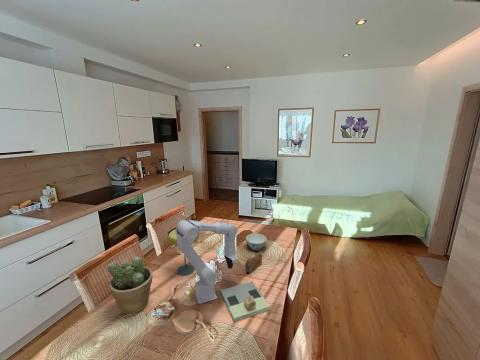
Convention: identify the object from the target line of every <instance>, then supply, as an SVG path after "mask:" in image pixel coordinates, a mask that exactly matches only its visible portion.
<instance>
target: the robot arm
mask: <svg viewBox="0 0 480 360" xmlns="http://www.w3.org/2000/svg"><path fill="white" fill-rule="evenodd" d="M175 228H176V230H175V232H176V235H177V245H178V246H177V248H178V250H180V252H181V253H182V254H183V256H184V255H185V257H186V259H187V260H188V262H190V265H193V266H194V267H195V270H194V271H196V275H197V277H198V279H199V280H198V281H196V282H195V283H194V289H195V292H194V293H195V298H196V301H197V304H199V305H200V304H203V303H207V302H211V301H213V300H217V298H218V297H217V295H216V292H215V282H216V280H217V277H218V275H217V273H216V272H215V271H214V270H212V268H210V267H208V266H207V264H206V263H205V261H204V260H203V259H202V257H200V255H199V254H198V253H197V251H196V250H195V249H194V247H193V246H192V245H193V244H194V243H195V242H194V240H195V239H196V237H197V235H199V236H200V235H201V233H202V231H203V232H205V231H206V232H212V233H213V234H216V235H223V236H224V237H223V238H224V239H223V240H224V241H223V243H224V246H223V248H224V250H223V251H224V252H223V254H224V255H223V258H224V260H225V261H226V266H227V269H228V270H230V269H233V266H234V264H236V263H237V256H236V254H238V251H237V250H236V235H237V233H238V229H237V228H238V227H237V226H236V225H234V224H232V223H230V222H227V221H226V222H222V221H220V220H219V221H216V222H214V223H211V222H210V223H208V222H202V221H199V220H192V219H188V220H187V219H182V220H180V221H178V222H177V225H176V227H175ZM193 242H194V243H193Z"/></svg>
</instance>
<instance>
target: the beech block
mask: <svg viewBox="0 0 480 360" xmlns="http://www.w3.org/2000/svg"><path fill="white" fill-rule="evenodd" d="M244 306H245V308H246V309H247V311H251V310H254V309H256V301H255V300H254V298H253V297H252V296H250V297H246V298H244Z"/></svg>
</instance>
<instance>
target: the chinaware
mask: <svg viewBox="0 0 480 360" xmlns="http://www.w3.org/2000/svg"><path fill="white" fill-rule="evenodd" d="M267 240H268V239H267V236H265V235H264V234H262V233H250V234H248V235H246V237H245V242H246V244H247V246H248V247H250V249H251V250H253V251H260V250H261V249H262V248H263V247H265V245H266V243H267Z"/></svg>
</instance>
